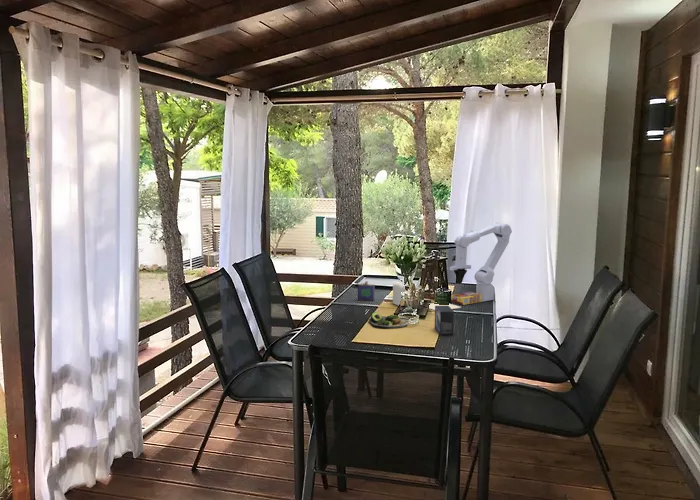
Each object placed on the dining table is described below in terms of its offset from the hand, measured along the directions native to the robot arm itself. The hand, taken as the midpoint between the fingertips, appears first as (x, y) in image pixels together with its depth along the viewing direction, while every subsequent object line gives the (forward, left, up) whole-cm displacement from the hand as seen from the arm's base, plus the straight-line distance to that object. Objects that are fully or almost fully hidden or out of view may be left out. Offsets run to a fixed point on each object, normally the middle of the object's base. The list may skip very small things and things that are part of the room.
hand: (459, 282), depth 295 cm
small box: (+48, +37, -11) cm, 61 cm away
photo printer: (+34, -10, -11) cm, 37 cm away
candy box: (+5, +4, -9) cm, 11 cm away
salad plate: (+62, +14, -11) cm, 64 cm away
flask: (+43, -28, -11) cm, 52 cm away
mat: (+18, +4, -10) cm, 21 cm away
